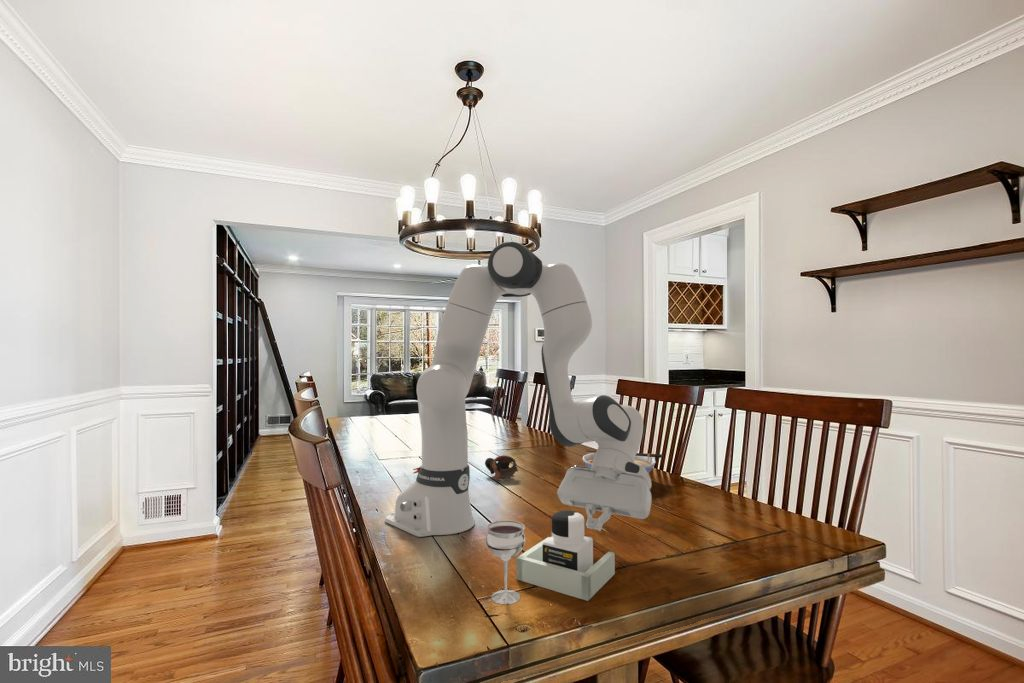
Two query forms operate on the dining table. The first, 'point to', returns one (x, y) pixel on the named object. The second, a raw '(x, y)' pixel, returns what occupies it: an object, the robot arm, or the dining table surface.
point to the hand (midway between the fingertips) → (592, 528)
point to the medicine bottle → (568, 543)
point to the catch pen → (564, 574)
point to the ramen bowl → (639, 459)
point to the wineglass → (505, 551)
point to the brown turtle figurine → (501, 466)
